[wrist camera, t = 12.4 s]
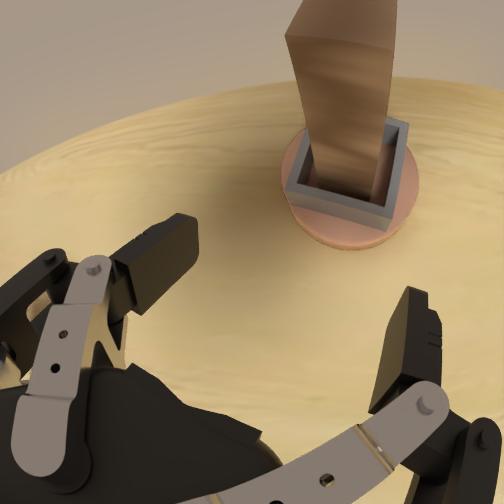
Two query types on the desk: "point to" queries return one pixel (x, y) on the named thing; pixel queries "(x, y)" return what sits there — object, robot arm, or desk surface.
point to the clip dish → (346, 208)
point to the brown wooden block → (344, 86)
